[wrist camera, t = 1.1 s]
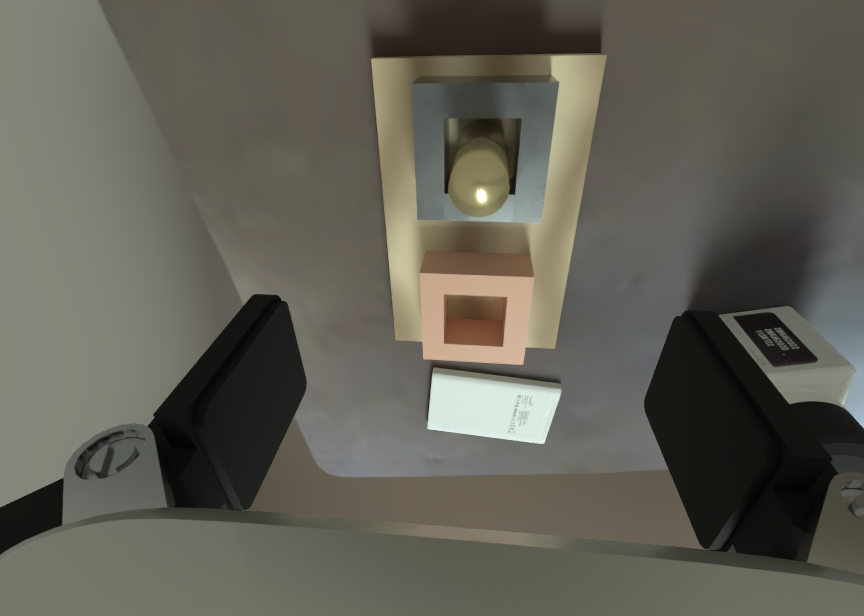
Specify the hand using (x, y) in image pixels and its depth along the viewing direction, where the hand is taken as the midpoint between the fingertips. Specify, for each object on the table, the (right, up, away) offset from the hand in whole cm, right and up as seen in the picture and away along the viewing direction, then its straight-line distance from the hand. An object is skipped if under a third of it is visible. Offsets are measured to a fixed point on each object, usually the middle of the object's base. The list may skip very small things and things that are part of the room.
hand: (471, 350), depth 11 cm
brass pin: (+2, +12, +18) cm, 22 cm away
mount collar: (+2, +12, +18) cm, 22 cm away
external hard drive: (+5, -8, +34) cm, 35 cm away
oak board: (+3, +8, +22) cm, 24 cm away
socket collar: (+3, +2, +24) cm, 25 cm away
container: (+25, -2, +26) cm, 36 cm away
